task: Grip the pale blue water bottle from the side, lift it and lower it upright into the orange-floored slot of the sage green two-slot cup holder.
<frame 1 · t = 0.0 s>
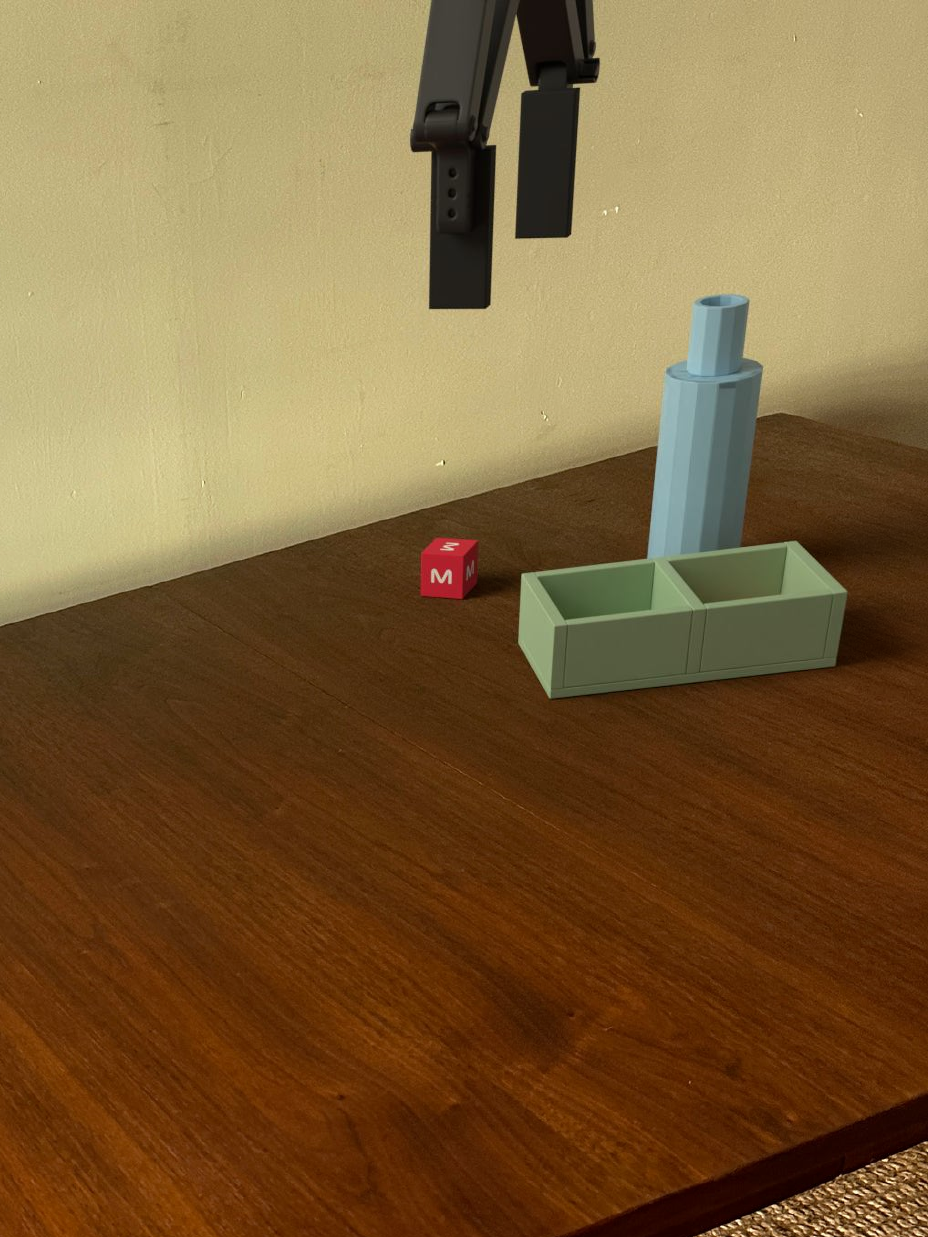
hand: (503, 271, 86), 26 cm above the table, tool pointing down, fingers open, 13 cm apart
bottle: (691, 572, 120), on the table
red letter cube: (448, 592, 122), on the table
holder: (670, 654, 110), on the table
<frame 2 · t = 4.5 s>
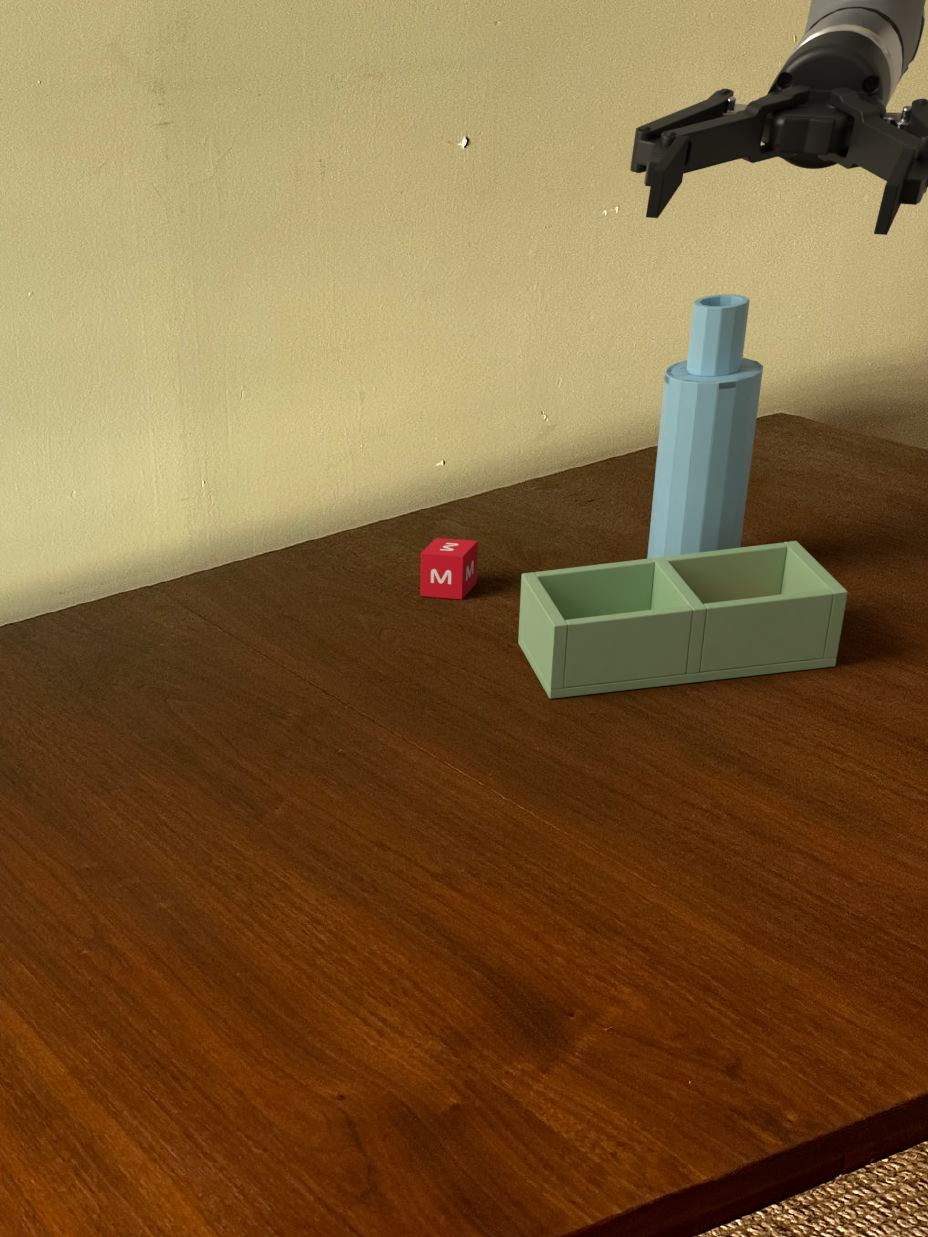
hand: (767, 202, 108), 22 cm above the table, tool horizontal, fingers open, 13 cm apart
nothing on the table moved.
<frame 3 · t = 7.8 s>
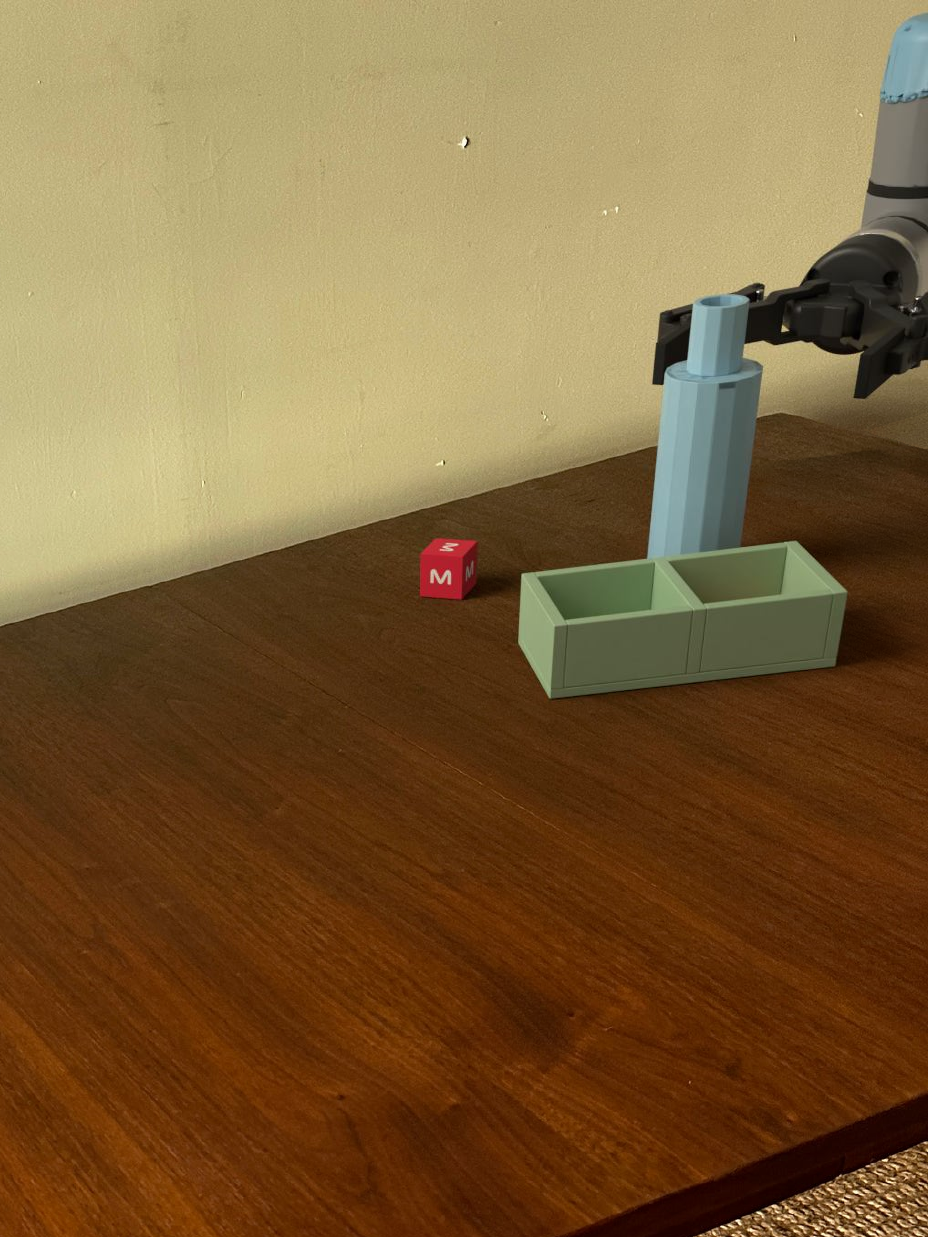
hand: (757, 370, 118), 11 cm above the table, tool horizontal, fingers open, 13 cm apart
nothing on the table moved.
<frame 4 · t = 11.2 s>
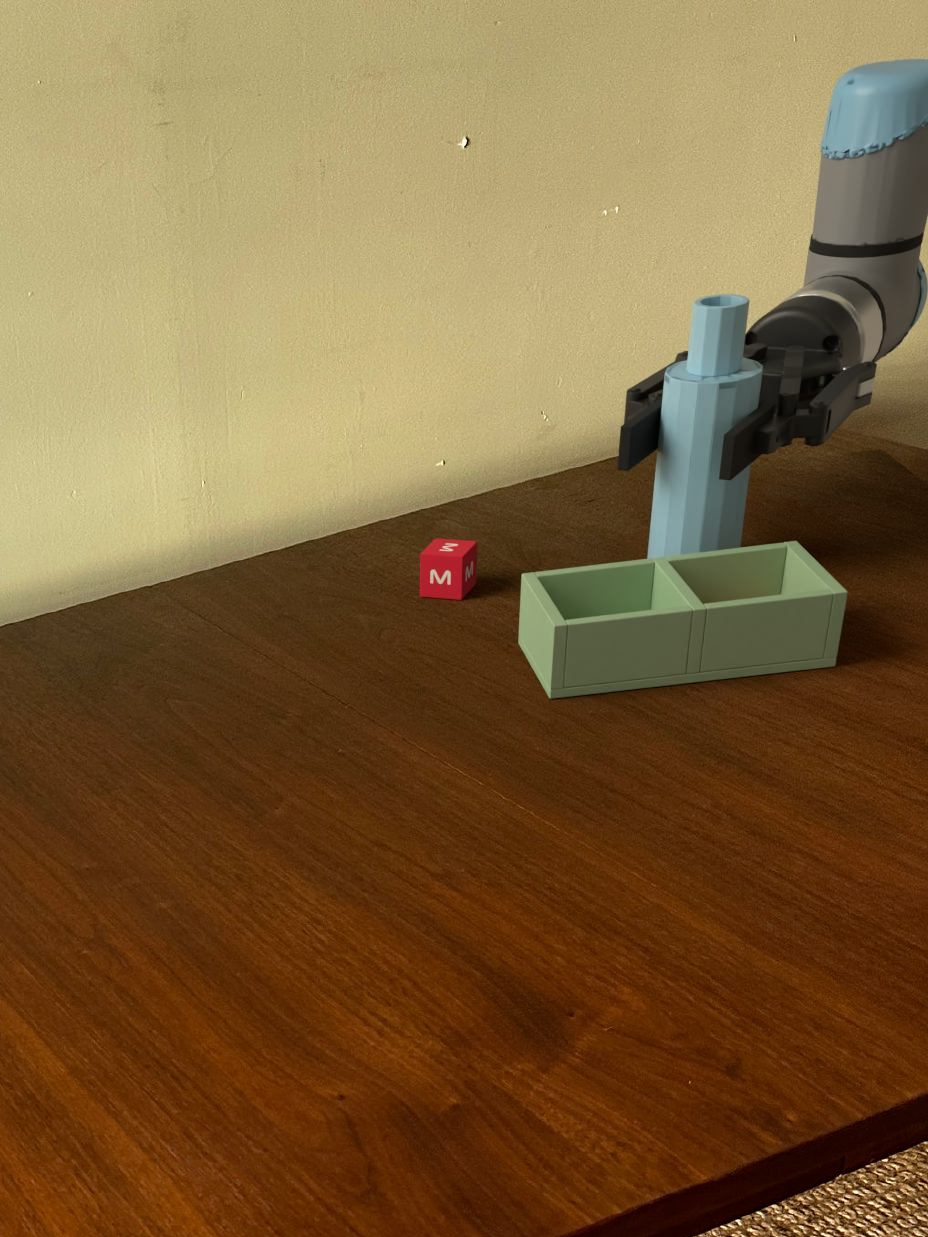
hand: (675, 452, 111), 9 cm above the table, tool horizontal, fingers closed on bottle, 6 cm apart
bottle: (691, 572, 120), on the table, touching gripper
everything else where it was.
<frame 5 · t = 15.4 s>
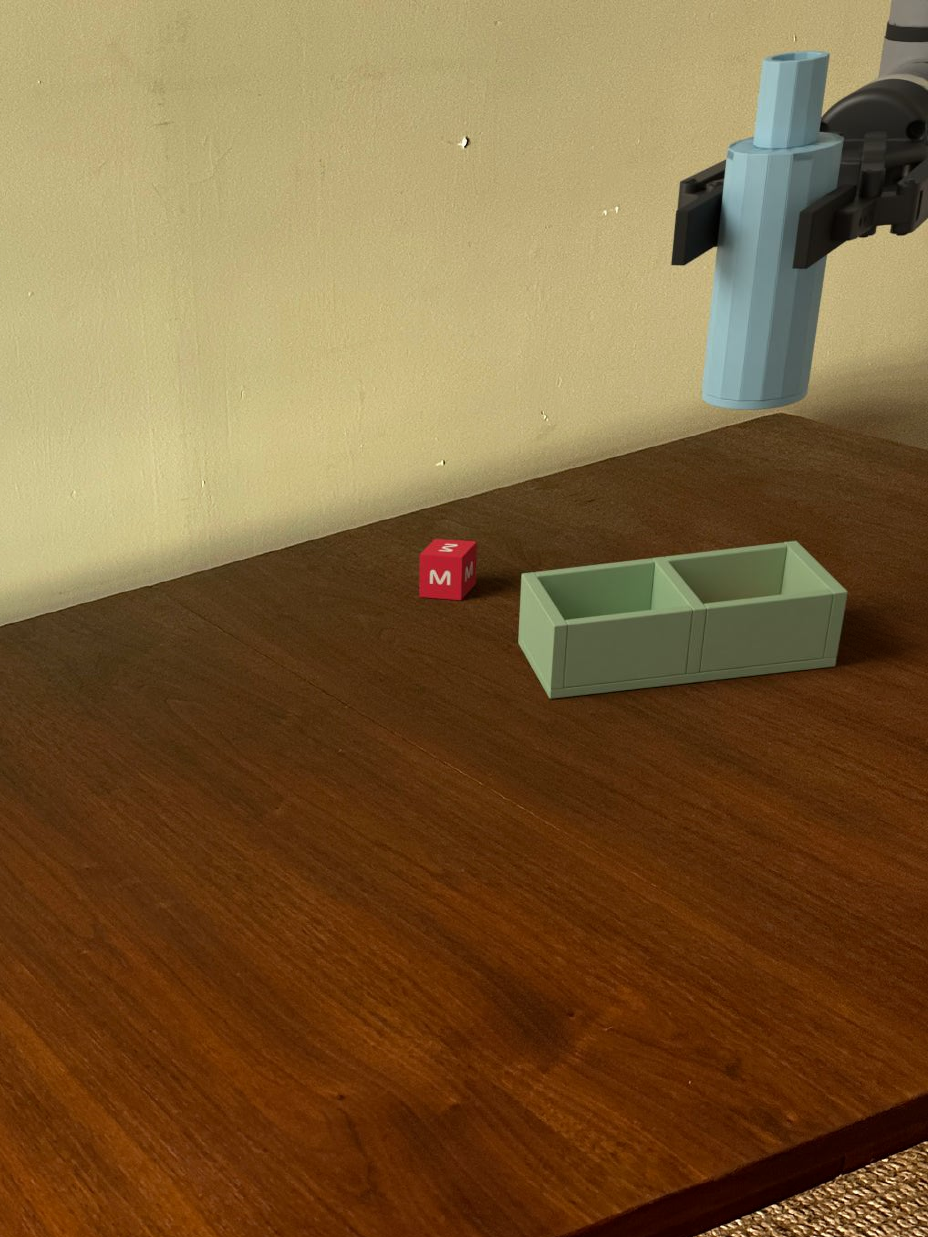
hand: (740, 239, 95), 23 cm above the table, tool horizontal, fingers closed on bottle, 6 cm apart
bottle: (753, 395, 103), point 14 cm above the table, touching gripper
everything else where it was.
when the fingers open (10 cm above the table, at t = 19.6 s): bottle stays where it is, resting on holder.
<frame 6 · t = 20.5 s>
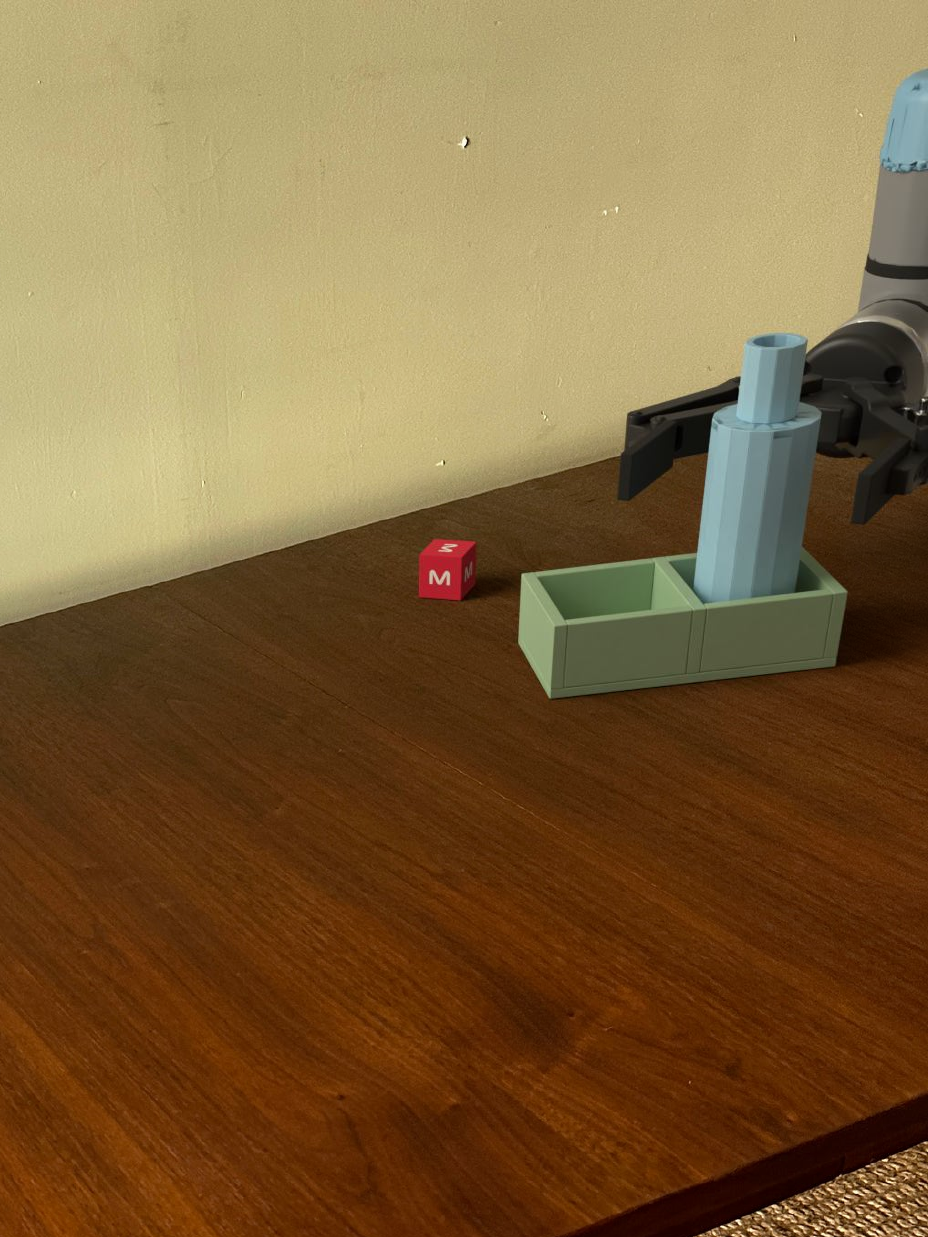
hand: (738, 488, 101), 11 cm above the table, tool horizontal, fingers open, 13 cm apart
bottle: (738, 634, 109), point 1 cm above the table, touching holder
everything else where it was.
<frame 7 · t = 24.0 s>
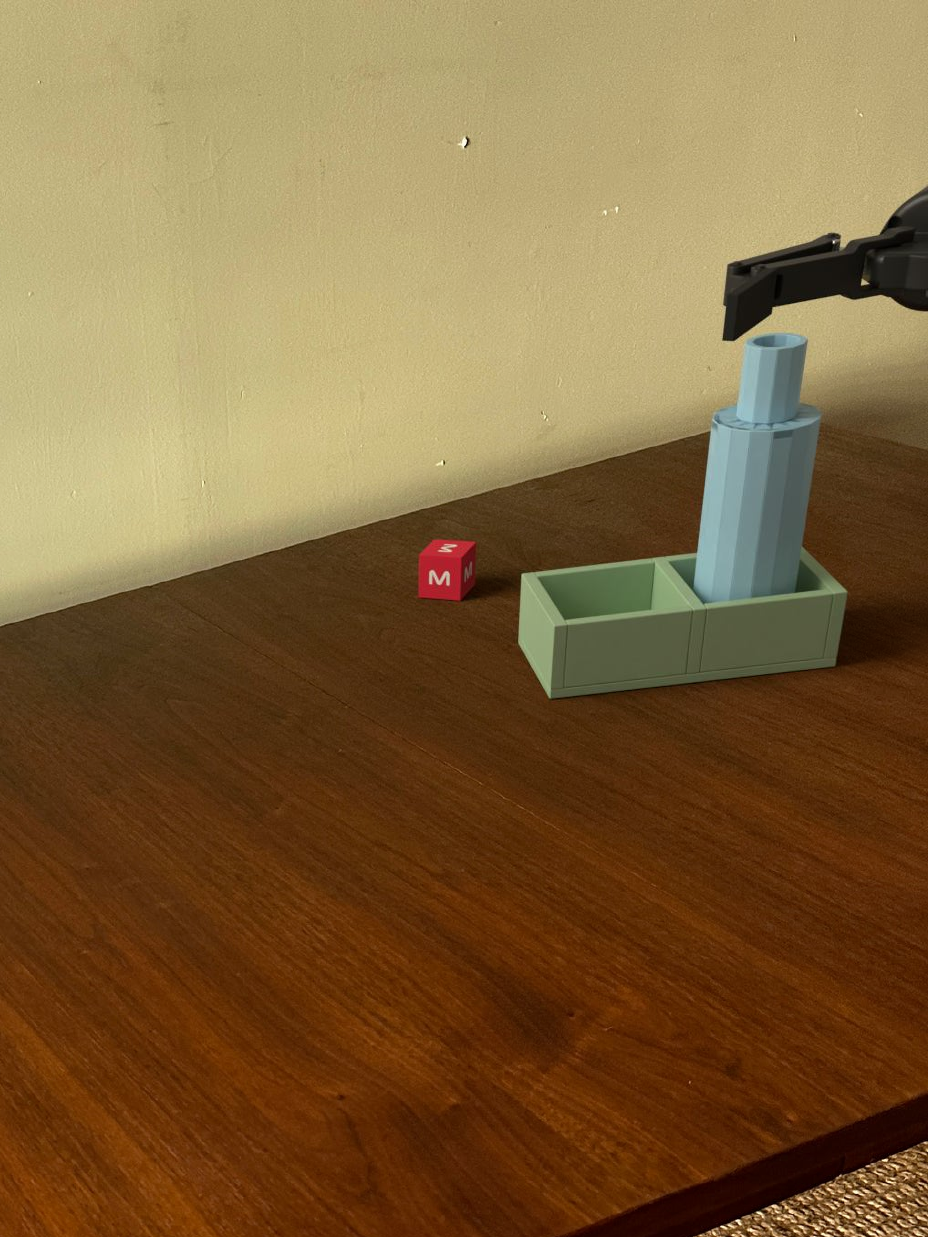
hand: (842, 322, 106), 16 cm above the table, tool horizontal, fingers open, 13 cm apart
nothing on the table moved.
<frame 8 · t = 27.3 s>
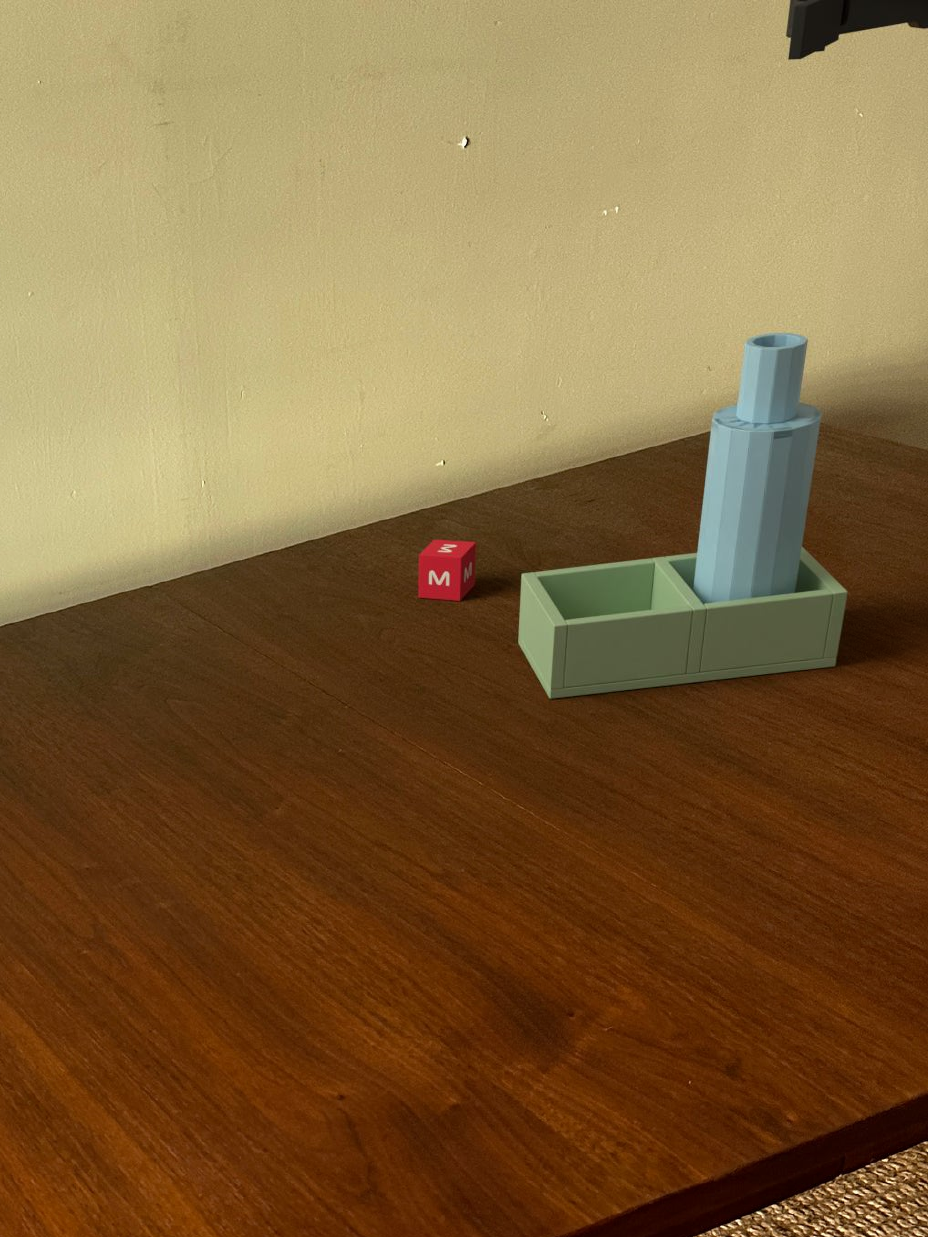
hand: (917, 27, 101), 30 cm above the table, tool horizontal, fingers open, 13 cm apart
nothing on the table moved.
at the end: bottle 0.1 cm from the target spot in the holder, point 0.8 cm above the holder's base; bottle tilted 0°; the gripper is holding nothing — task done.
